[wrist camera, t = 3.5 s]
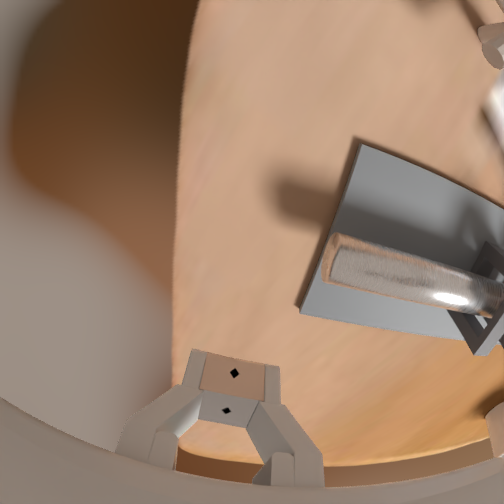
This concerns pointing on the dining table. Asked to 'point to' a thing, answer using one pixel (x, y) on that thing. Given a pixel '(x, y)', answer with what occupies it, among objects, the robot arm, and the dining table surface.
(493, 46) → the pipe connector
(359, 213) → the collar board
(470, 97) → the dining table surface
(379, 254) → the tube
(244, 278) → the dining table surface
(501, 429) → the dixie cup
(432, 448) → the dining table surface
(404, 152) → the dining table surface
